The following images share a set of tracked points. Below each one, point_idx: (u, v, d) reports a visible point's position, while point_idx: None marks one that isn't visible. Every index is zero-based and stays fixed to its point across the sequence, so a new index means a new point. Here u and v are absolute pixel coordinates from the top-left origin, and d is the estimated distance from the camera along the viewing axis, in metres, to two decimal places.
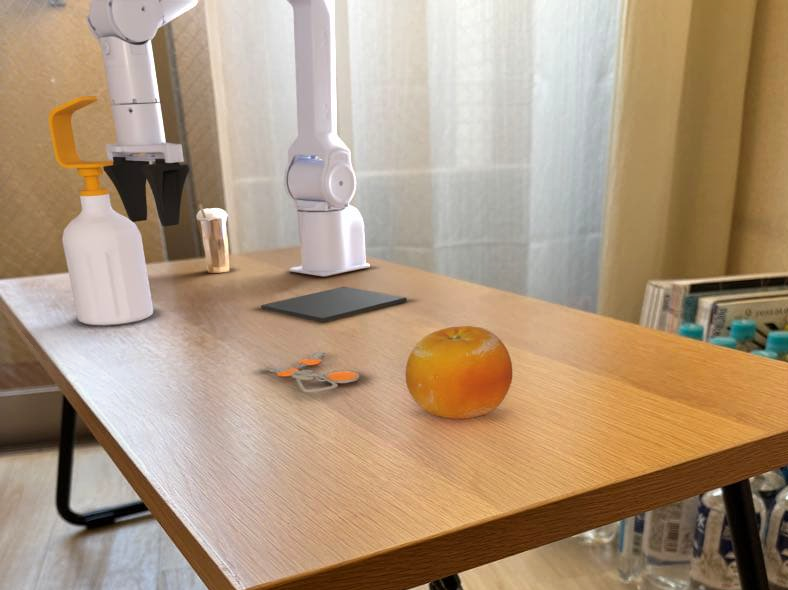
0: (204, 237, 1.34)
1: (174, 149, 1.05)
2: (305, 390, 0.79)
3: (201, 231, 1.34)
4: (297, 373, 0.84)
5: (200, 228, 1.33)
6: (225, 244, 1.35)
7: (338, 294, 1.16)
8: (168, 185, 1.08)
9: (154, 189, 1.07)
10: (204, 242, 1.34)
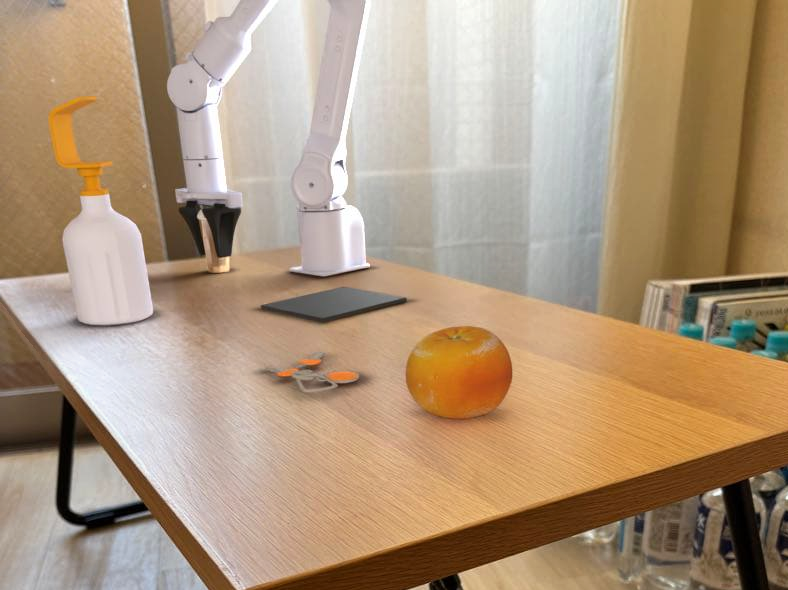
0: (205, 237, 1.34)
1: (236, 197, 1.27)
2: (305, 390, 0.79)
3: (202, 231, 1.33)
4: (297, 373, 0.84)
5: (201, 228, 1.33)
6: None
7: (338, 294, 1.16)
8: (223, 224, 1.32)
9: (213, 228, 1.31)
10: (204, 242, 1.34)
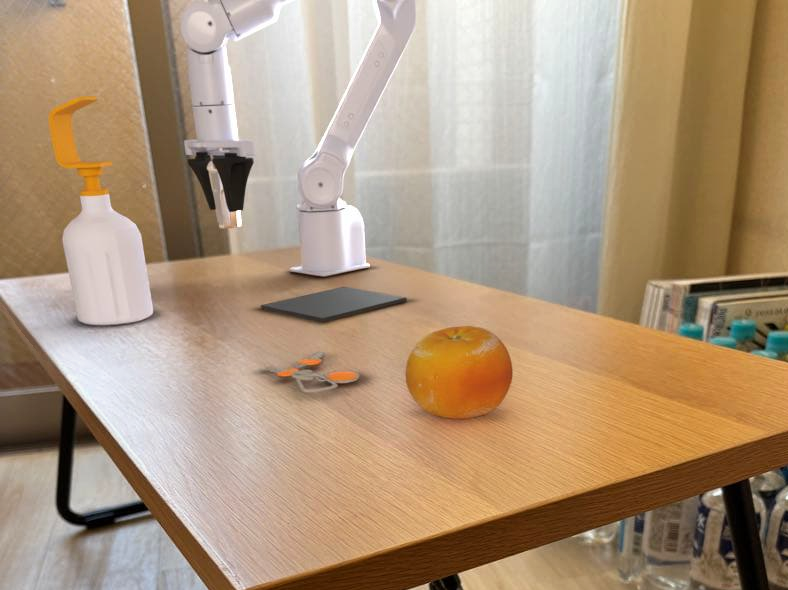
0: (215, 190, 1.27)
1: (248, 145, 1.20)
2: (305, 390, 0.79)
3: (212, 183, 1.26)
4: (297, 373, 0.84)
5: (211, 180, 1.26)
6: None
7: (338, 294, 1.16)
8: (235, 176, 1.25)
9: (223, 179, 1.24)
10: (215, 195, 1.27)
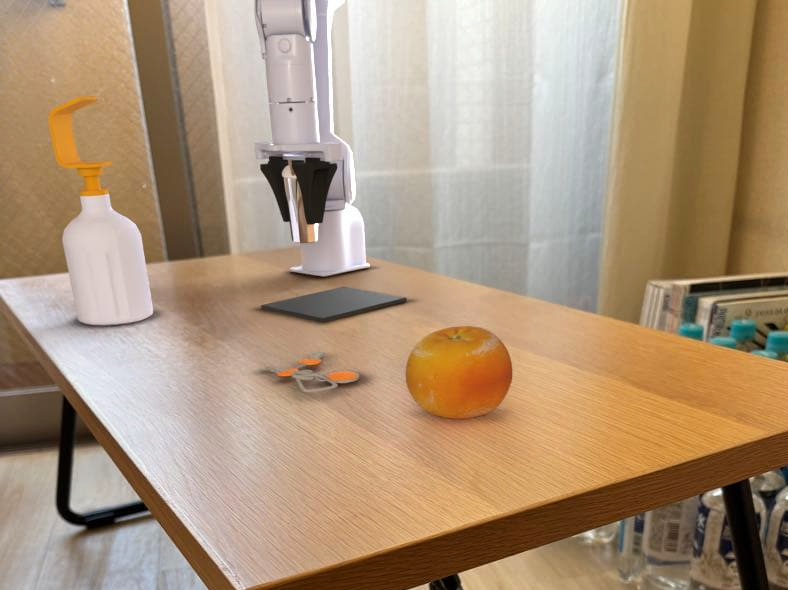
0: (291, 199, 1.11)
1: (334, 148, 1.04)
2: (305, 390, 0.79)
3: (287, 192, 1.10)
4: (297, 373, 0.84)
5: (286, 188, 1.10)
6: None
7: (338, 294, 1.16)
8: (316, 184, 1.09)
9: (304, 187, 1.08)
10: (290, 206, 1.11)
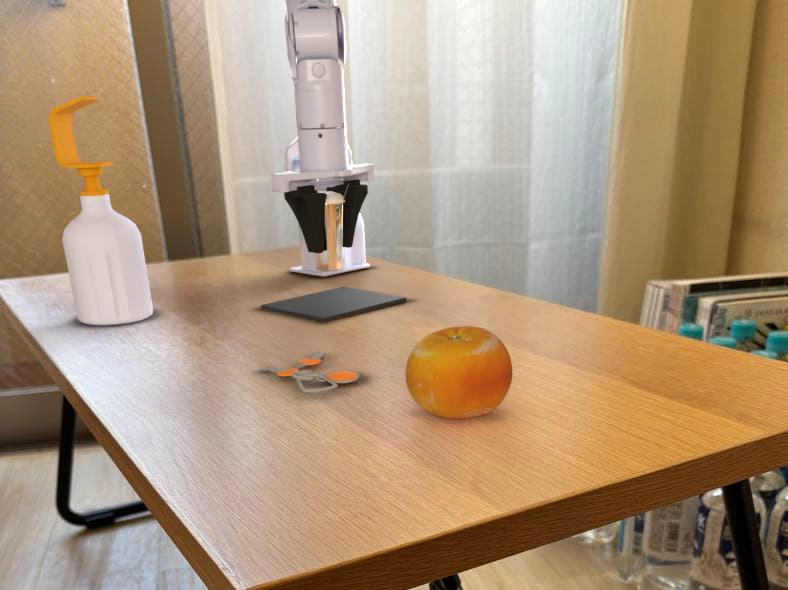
0: (339, 225, 1.08)
1: None
2: (305, 390, 0.79)
3: (337, 218, 1.07)
4: (297, 373, 0.84)
5: (336, 215, 1.07)
6: None
7: (338, 294, 1.16)
8: None
9: (357, 209, 1.09)
10: (337, 232, 1.08)
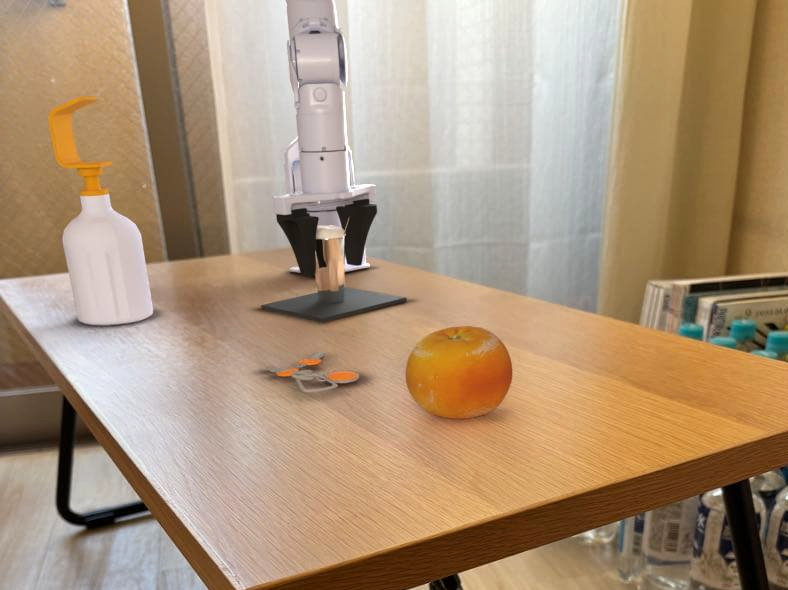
0: (340, 259, 1.09)
1: None
2: (305, 390, 0.79)
3: (338, 252, 1.09)
4: (297, 373, 0.84)
5: (337, 249, 1.08)
6: None
7: None
8: None
9: (366, 229, 1.11)
10: (339, 265, 1.10)
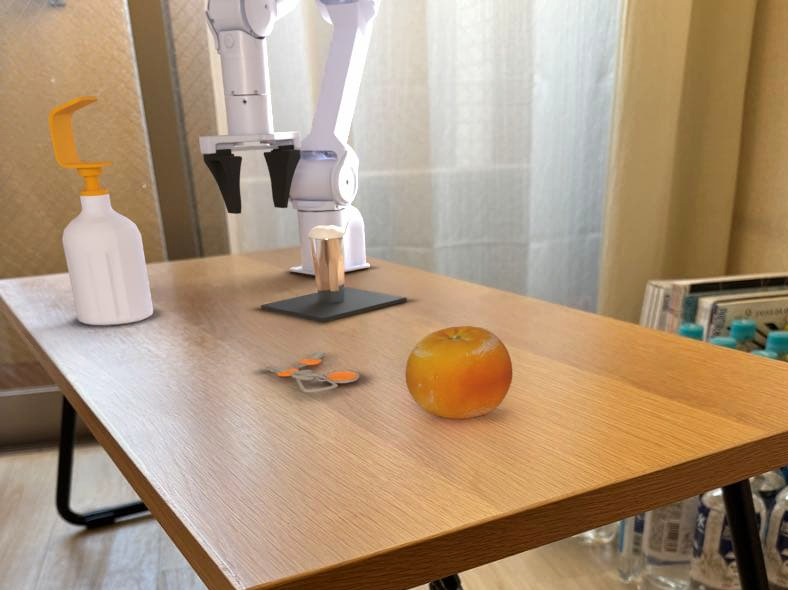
0: (340, 259, 1.09)
1: None
2: (305, 390, 0.79)
3: (338, 252, 1.09)
4: (297, 373, 0.84)
5: (337, 249, 1.08)
6: None
7: None
8: None
9: (291, 172, 1.18)
10: (339, 265, 1.10)
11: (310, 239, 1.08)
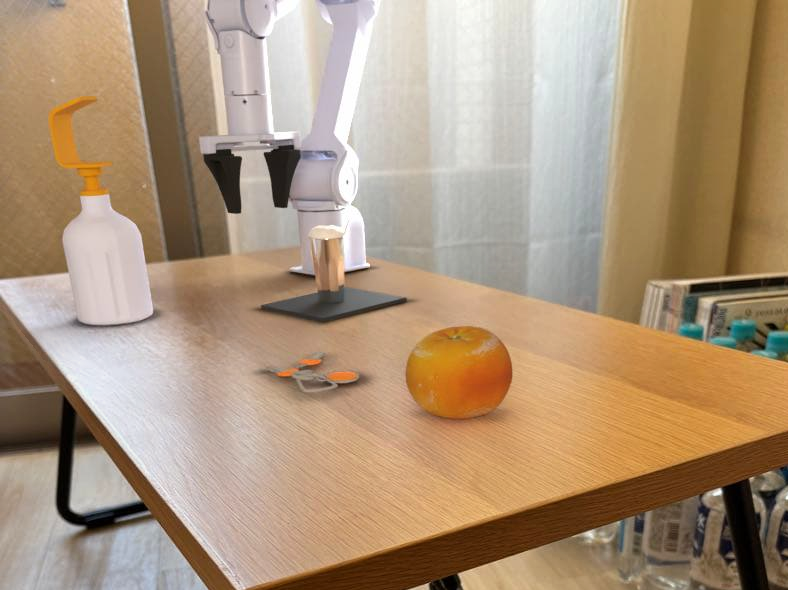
0: (340, 259, 1.09)
1: None
2: (305, 390, 0.79)
3: (338, 252, 1.09)
4: (297, 373, 0.84)
5: (337, 249, 1.08)
6: None
7: None
8: None
9: (291, 172, 1.18)
10: (339, 265, 1.10)
11: (310, 239, 1.08)
